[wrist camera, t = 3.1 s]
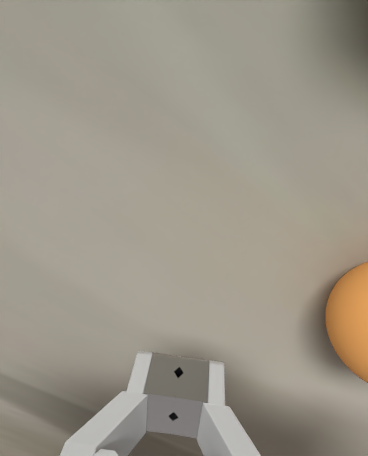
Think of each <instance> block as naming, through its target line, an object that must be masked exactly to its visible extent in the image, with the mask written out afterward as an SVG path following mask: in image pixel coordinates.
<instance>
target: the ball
mask: <svg viewBox="0 0 368 456" xmlns="http://www.w3.org/2000/svg"><path fill="white" fill-rule="evenodd" d="M325 319H326V328H327V332H328V335H329V339H330V341H331V343H332V345H333V347H334V349H335V351H336V353H337V354H338V356H339V357H340V358H341V360H342V361H343V362H344V364H345V365H346V366H347V367H348V368H349V369H350V370H351V371H352V372H353V373H355V374H356V375H357V376H358V377H360V378H361V379H363V380H364V381H366V382H367V383H368V262H366V263H363V264H361V265H359V266H357V267H355V268H353V269H351V270H350V271H349V272H347V273H346V274H345V275H344V276H343V277H341V278H340V280H339V281H338V282H337V283H336V285H335V286H334V288H333V289H332V291H331V293H330V296H329V298H328V302H327V306H326V316H325Z"/></svg>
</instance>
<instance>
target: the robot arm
mask: <svg viewBox="0 0 368 456" xmlns="http://www.w3.org/2000/svg"><path fill="white" fill-rule="evenodd" d="M146 431H150V432H158V433H167V434H174V435H179V436H185V437H190V438H196V439H197V442H198V444H199V446H200V449H201V451H202V453H203V456H261V455H260V453H259V452H258V450H257V449H256V447H255V446H254V444H253V442H252V441H251V439H250V438H249V436H248V435H247V433H246V431H245V430H244V428H243V427H242V425H241V424H240V422H239V421H238V419H237V417H236V416H235V414H234V413H233V411H232V410H231V408H230V407H229V406H225V367H224V363H223V362H218V361H211V360H205V359H197V358H189V357H178V356H172V355H166V354H160V353H154V352H147V351H140V350H139V351H138V353H137V356H136V359H135V363H134V366H133V370H132V373H131V377H130V380H129V384H128V387H127V391H121V392H120V393H119V394H118V395H117V396H116V397H115V398H114V399H113V400H111V401H110V402H109V403H108V404H107V405H106V406H105V407H104V408H103V409H101V410H100V411H99V412H98V413H97V414H96V415H95V416H94V417H93V418H91V419H90V420H89V421H88V422H87V423H86V424H85V425H84V426H82V427H81V428H80V429H79V430H78V431H77V432H76V433H75V434H74V435H72V436H71V437H70V438H69V439H68V440H67V441H66V442H65V444H64V447H63V449H62V452H61V454H60V456H128V455H129V453H130V452H131V451H132V450H133V448H134V447H135V446H136V445H137V443H138V442H139V441H140V440H141V438H142V437H143V436H144V435H145V433H146Z"/></svg>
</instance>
